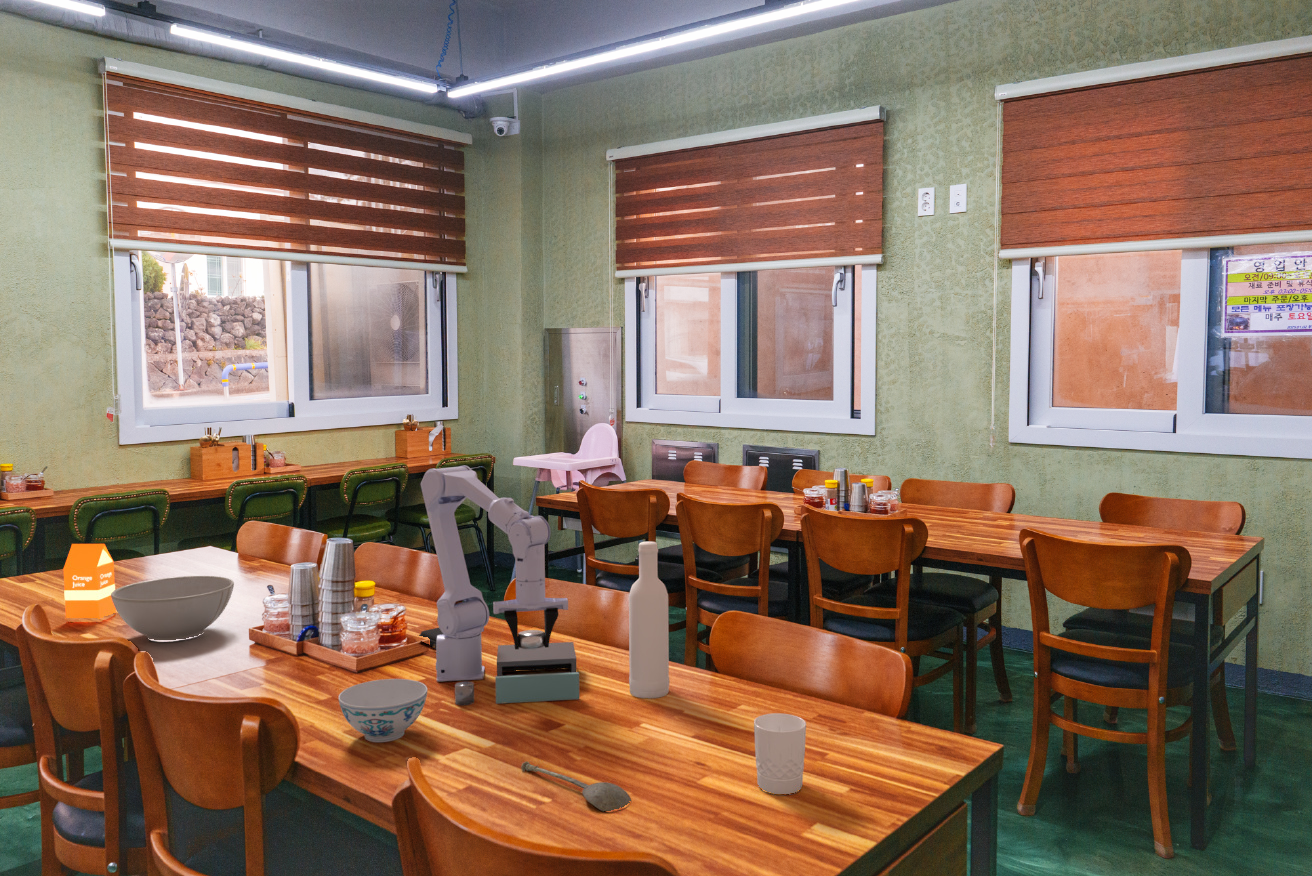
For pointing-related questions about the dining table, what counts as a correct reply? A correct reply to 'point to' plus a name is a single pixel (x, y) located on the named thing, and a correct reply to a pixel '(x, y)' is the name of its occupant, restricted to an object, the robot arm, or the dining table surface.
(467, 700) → the grey metallic cube
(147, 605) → the decorative bowl
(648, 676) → the bottle
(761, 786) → the white cup
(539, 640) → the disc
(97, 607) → the orange juice
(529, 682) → the teal drawer
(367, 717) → the chinaware
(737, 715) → the dining table surface
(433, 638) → the carrying case or bag
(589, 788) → the soupspoon
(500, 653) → the grey drawer housing
